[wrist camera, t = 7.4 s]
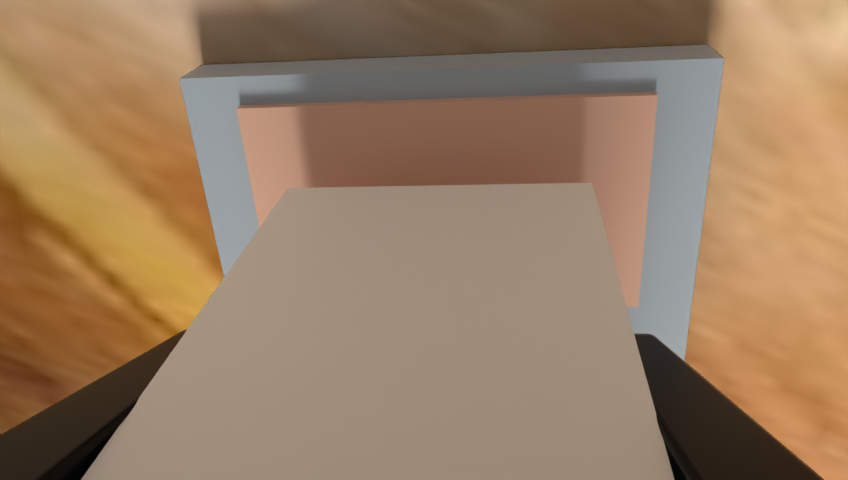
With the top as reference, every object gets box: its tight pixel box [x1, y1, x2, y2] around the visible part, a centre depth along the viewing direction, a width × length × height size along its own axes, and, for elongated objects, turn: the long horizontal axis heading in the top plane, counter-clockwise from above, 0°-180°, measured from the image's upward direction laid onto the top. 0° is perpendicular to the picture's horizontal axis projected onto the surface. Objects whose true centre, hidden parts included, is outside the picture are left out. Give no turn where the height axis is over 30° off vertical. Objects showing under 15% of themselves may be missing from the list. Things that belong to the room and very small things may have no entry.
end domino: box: [81, 183, 674, 480], centre depth 8 cm, size 2×5×8 cm, turn 94°
